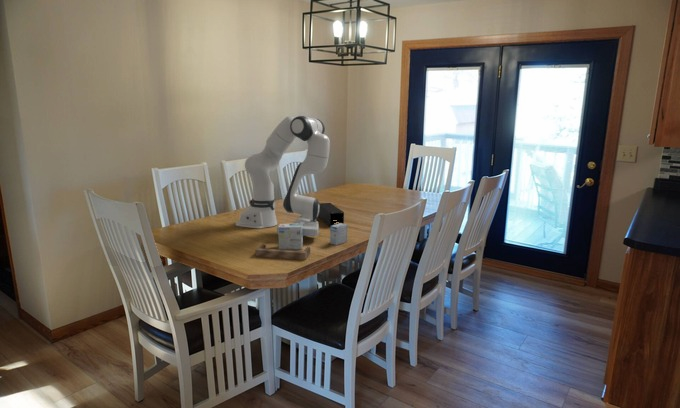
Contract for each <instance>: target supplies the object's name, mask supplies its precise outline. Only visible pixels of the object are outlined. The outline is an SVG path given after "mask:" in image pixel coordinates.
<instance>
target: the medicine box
mask: <svg viewBox="0 0 680 408" xmlns="http://www.w3.org/2000/svg"><path fill="white" fill-rule="evenodd" d="M329 241H330V242H329V244H331V245H334V246H338V245H341V244H343V243H347V242H348V224H346V223H344V224H343V223H339V224H336V225H332V226H329Z"/></svg>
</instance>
